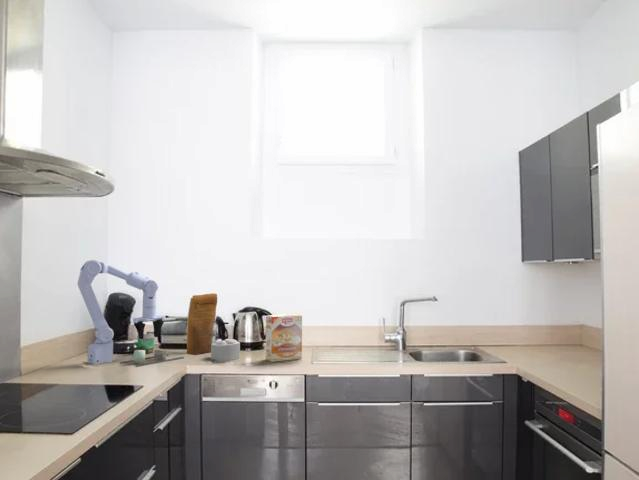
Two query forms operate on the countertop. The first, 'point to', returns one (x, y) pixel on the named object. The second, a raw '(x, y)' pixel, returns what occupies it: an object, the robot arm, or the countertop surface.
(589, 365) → the countertop surface
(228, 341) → the lumpy-topped squat cylinder
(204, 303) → the pancake mix bag
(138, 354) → the tapered cylinder
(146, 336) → the food container
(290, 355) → the coffeecake box
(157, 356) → the brown piece
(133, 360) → the track
